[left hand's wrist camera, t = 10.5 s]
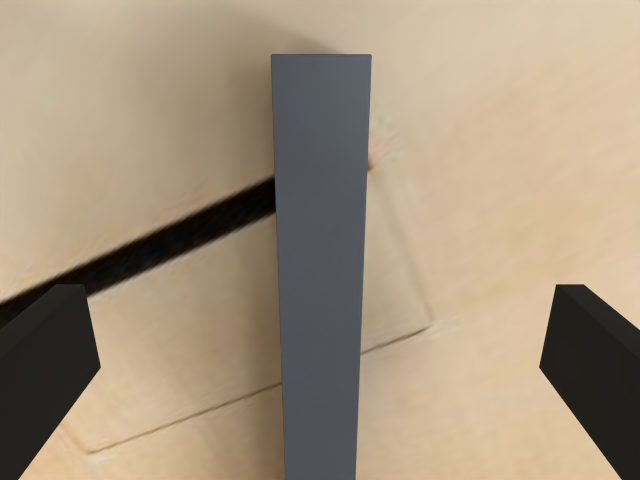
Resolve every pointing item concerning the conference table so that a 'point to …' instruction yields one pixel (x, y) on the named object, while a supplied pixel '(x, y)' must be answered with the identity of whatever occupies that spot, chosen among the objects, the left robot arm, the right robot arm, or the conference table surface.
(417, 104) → the conference table surface
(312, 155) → the bar
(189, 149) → the conference table surface
